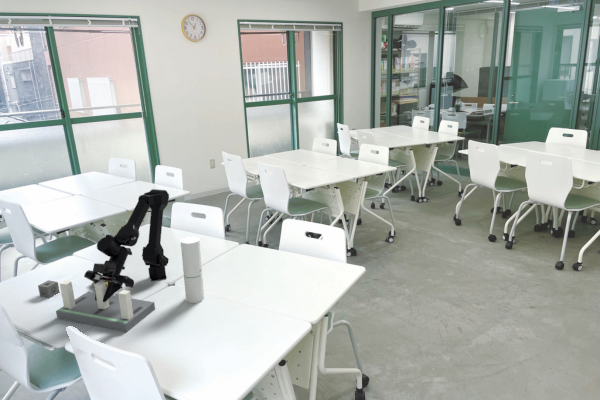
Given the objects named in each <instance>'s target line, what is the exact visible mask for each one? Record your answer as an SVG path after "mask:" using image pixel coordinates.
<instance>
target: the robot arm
mask: <svg viewBox="0 0 600 400" xmlns="http://www.w3.org/2000/svg"><path fill="white" fill-rule="evenodd" d="M169 199H170V194H169V193H168V191H167V190H164V189H154V188H153V189H150V190H149V191H148V192H144V193H143V194H140V195H139V196H138V201H137V203H136V205H135V207H134V209H133V211H132V213H131V215H130V217H129V218H128V221H127V223H125V224H124V225H123V226H122V227H120V229H119V230H118V231H117V233H116V234H115V235H114V236H113V235H111V234H106V235H105V237H102V238H101V239H99V241H98V242H97V244H96V250H98V251H99V252H101V253H102V254H104V255H105V256H107V257H109V259H108V260H105V261H104V263H96V262H95V263H94V264H93V268H92V270H90V269H89V270H87V271H85V273H84V275H83V277H84V278H85V279H87V280H89V281H92V282H93V281H94V282H95V284H96V283H98V282H105V281H108V288H107V290H106V293H105V295H104V298H103V302H106V301H107V300H108V299H109V298H110V297H111V296H112V295H114V294H115V293H117V292H119V291H118V290H119V289H120V288H123V285H124V286H125V287H126V288H129V289H130V288H131V289H132V288H134V285H135V280H134V279H132V278H131V277H130V276H128V275H121V273H122V270H123V271H125V268H126V267H125V263H126V261H127V259H128V256H132V255H133V251H132V250H131V248H130V247H134V246H135V245H136V244H137V242H138V240H139V237H140V230H139V229H140V227H141V225H142V223H143V221H144V219H145V217H146V215H147V213H148V211H149V208H150V219H149V230H148V231H149V232H148V240H147V241H148V242H147V244H146V245H145V246H143V247H142V254H141V257H142V261H143V262H144V265H145V266H149V267H148V277H149V279H150V282H155V281H161V280H167V274H166V267H167V266H168V264H169V260H170V258H168V257H167V256H166V255H165V254H164V253H165V251H164V248H163V246H162V243H161V241H162V229H163V228H162V227H163V218H164V217H163V216H164V210H165V209H166V207H167V206H168V204H169ZM107 278H108V279H107ZM110 281H111V282H110ZM106 286H107V284H106ZM123 289H124V288H123ZM94 292H95V300H96V301H97V298H96V291H94Z"/></svg>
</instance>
